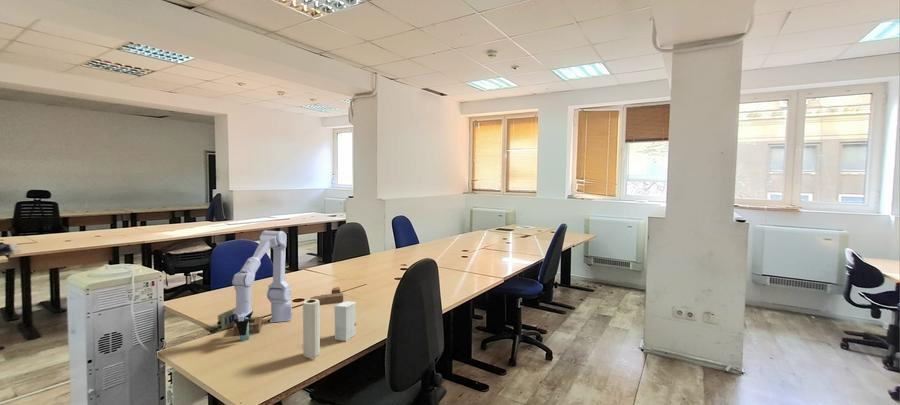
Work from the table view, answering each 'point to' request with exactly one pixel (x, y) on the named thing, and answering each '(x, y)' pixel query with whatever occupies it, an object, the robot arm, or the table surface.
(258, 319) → the socket block
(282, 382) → the table surface
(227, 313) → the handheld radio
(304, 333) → the paper towel roll
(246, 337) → the peg
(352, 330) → the skincare box
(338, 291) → the wooden block set
